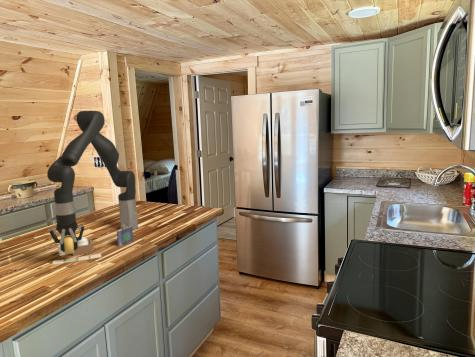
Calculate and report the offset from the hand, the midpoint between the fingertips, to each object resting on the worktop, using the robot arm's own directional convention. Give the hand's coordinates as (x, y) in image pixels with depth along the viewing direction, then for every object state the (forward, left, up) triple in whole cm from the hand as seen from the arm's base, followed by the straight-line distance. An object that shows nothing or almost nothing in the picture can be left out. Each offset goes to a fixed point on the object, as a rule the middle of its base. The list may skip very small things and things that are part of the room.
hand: (69, 250), depth 149 cm
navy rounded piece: (-24, -12, -6) cm, 27 cm away
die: (+3, -10, -5) cm, 12 cm away
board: (-3, -5, -6) cm, 8 cm away
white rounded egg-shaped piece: (-5, -9, -4) cm, 11 cm away
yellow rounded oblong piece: (0, 0, -1) cm, 1 cm away
